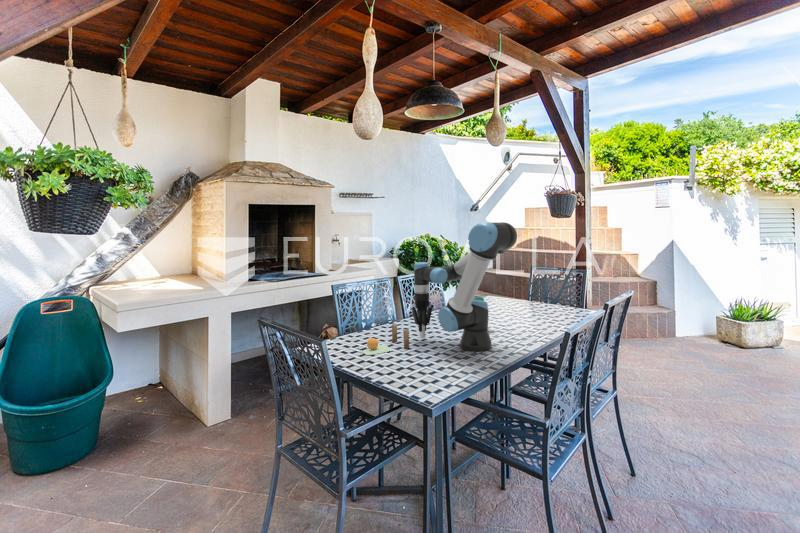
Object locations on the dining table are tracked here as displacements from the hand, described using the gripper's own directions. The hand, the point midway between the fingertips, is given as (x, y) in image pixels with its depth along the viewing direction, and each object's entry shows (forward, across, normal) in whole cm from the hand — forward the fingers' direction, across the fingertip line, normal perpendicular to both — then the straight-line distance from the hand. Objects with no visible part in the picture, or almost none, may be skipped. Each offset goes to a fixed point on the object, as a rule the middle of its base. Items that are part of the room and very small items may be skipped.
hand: (422, 337), depth 198 cm
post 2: (+2, +13, +6) cm, 15 cm away
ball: (-1, +28, 0) cm, 28 cm away
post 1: (+2, +13, -6) cm, 15 cm away
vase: (+2, -37, 0) cm, 37 cm away
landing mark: (+2, +27, 0) cm, 27 cm away
